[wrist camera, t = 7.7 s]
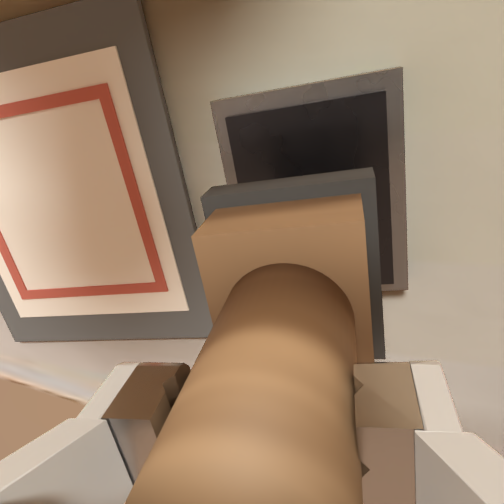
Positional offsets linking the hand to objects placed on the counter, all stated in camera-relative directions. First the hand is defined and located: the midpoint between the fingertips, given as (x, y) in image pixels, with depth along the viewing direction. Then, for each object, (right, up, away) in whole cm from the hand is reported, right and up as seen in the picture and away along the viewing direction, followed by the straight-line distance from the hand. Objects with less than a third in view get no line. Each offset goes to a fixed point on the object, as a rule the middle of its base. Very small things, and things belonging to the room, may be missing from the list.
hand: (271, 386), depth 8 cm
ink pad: (+3, +6, +11) cm, 13 cm away
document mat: (-11, +5, +15) cm, 19 cm away
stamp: (+1, +2, +5) cm, 6 cm away
